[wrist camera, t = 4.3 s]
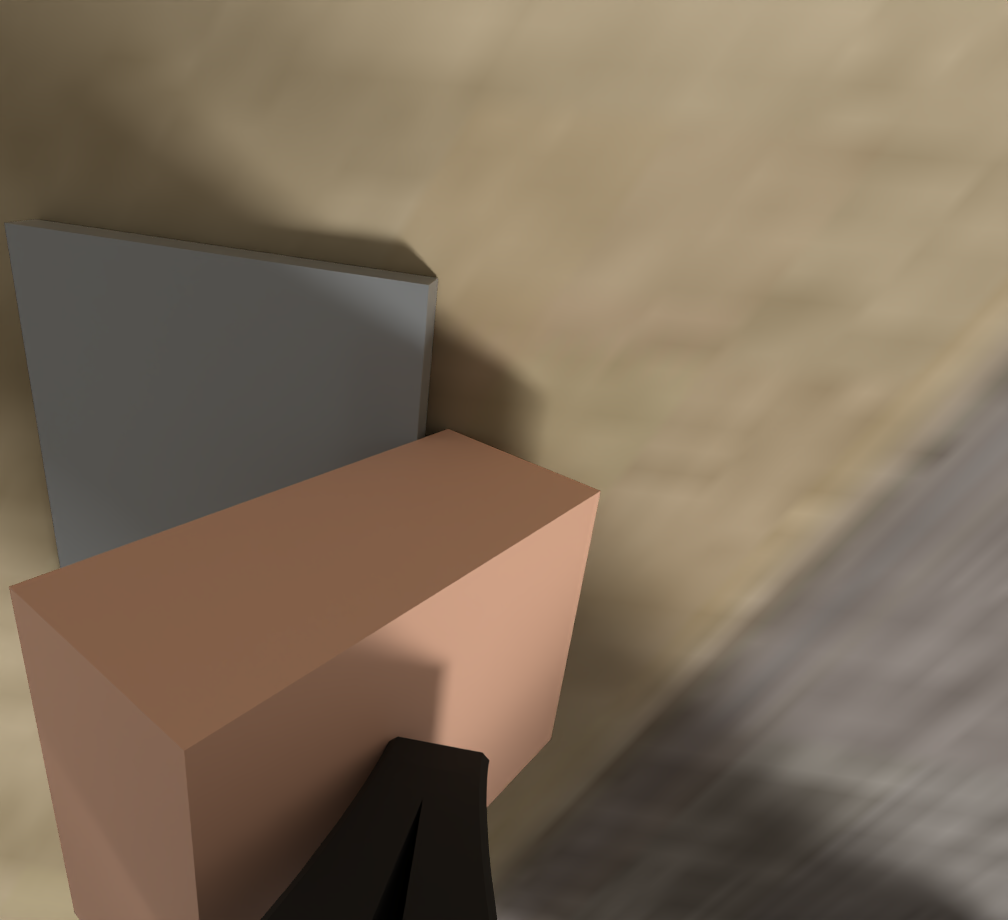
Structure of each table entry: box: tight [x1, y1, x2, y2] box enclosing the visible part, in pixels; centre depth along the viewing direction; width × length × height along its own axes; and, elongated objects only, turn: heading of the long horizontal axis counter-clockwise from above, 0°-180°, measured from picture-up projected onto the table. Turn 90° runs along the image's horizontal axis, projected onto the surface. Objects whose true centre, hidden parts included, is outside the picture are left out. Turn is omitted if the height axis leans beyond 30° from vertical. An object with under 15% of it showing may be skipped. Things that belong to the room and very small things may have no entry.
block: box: [9, 429, 600, 920], centre depth 12 cm, size 4×6×8 cm, turn 176°
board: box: [4, 219, 438, 568], centre depth 16 cm, size 8×12×1 cm, turn 174°
